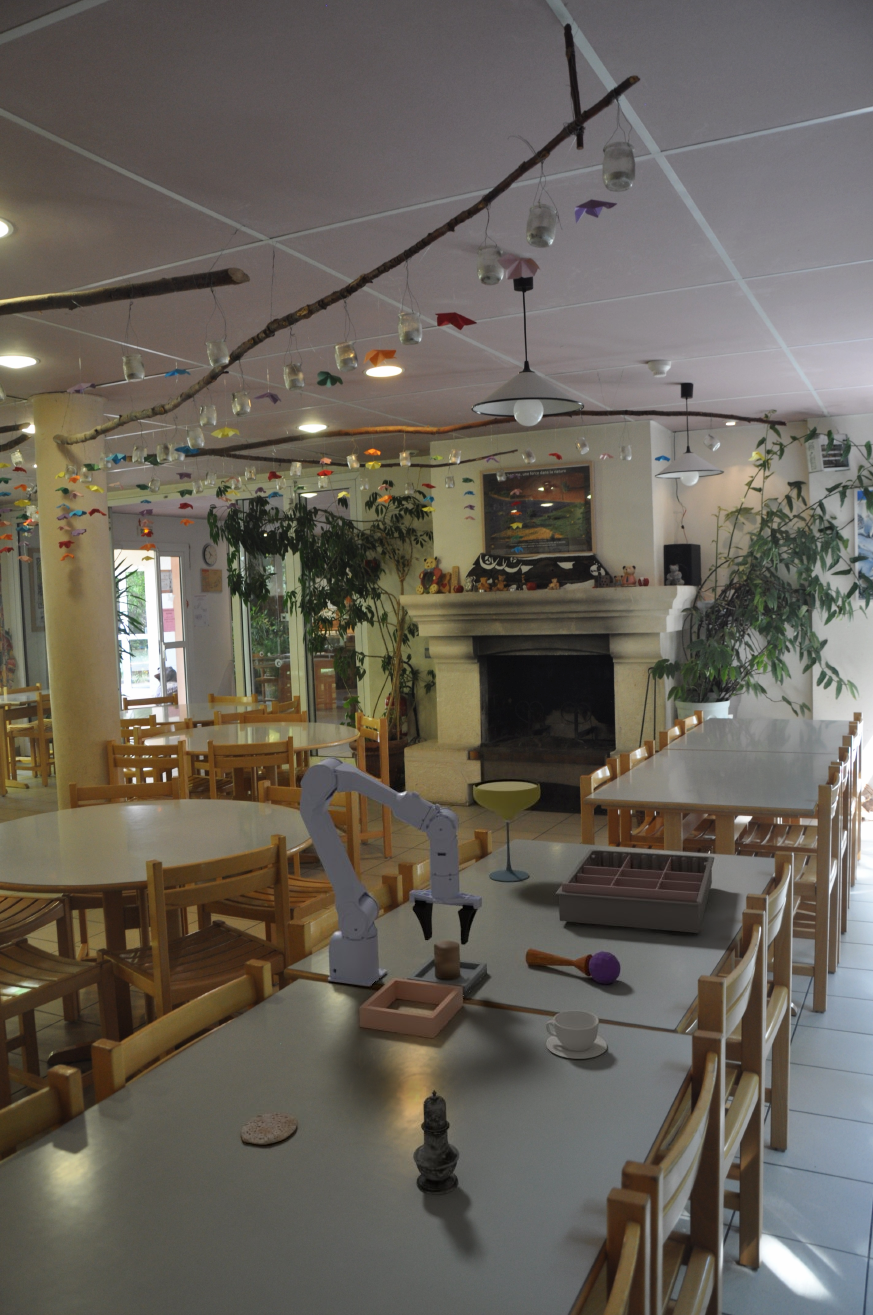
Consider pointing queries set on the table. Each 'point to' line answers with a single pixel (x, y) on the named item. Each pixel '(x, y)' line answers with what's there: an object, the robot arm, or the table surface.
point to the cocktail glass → (507, 811)
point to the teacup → (575, 1035)
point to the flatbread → (268, 1128)
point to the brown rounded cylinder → (447, 960)
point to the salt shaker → (436, 1150)
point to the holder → (409, 1022)
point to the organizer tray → (637, 890)
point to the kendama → (581, 964)
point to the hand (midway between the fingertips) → (446, 941)
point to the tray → (467, 980)
